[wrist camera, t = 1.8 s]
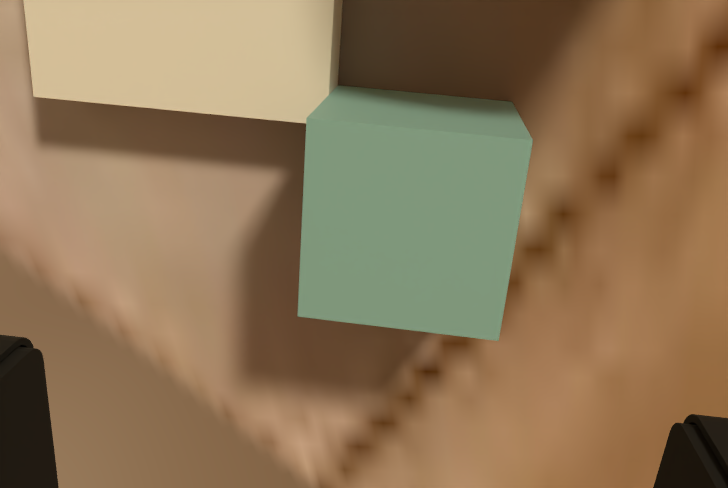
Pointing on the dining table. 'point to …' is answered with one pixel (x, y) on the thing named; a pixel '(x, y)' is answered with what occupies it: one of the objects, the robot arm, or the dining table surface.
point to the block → (411, 210)
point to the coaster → (188, 54)
